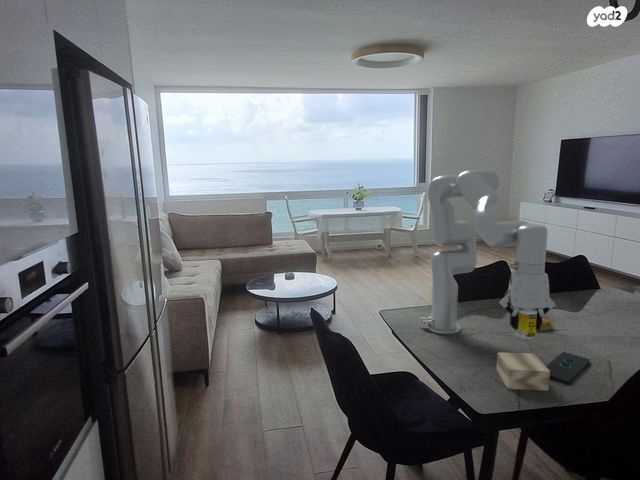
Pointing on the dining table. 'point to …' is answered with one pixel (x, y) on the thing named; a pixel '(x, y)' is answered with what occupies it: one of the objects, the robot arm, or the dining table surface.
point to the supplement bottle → (526, 323)
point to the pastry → (545, 324)
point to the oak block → (523, 371)
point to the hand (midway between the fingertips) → (525, 327)
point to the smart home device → (566, 367)
